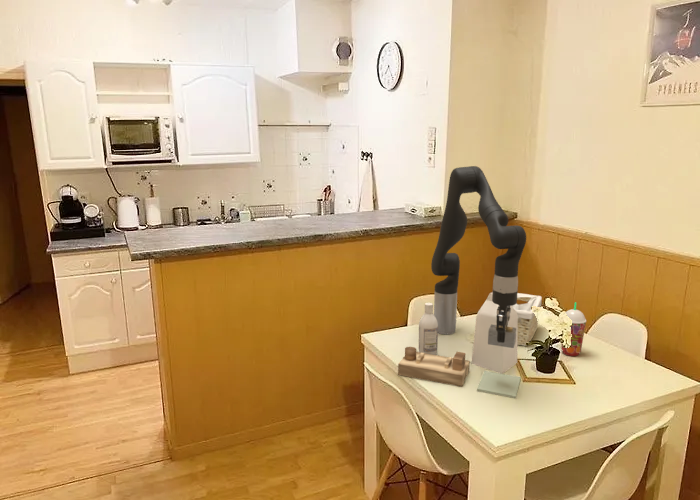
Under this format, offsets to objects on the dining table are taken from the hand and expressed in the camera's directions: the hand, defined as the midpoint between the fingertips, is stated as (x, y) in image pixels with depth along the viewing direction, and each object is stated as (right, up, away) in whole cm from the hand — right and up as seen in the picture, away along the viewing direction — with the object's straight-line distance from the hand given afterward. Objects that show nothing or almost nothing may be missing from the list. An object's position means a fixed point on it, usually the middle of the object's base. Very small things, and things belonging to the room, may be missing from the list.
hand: (502, 338), depth 167 cm
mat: (0, -16, +4) cm, 16 cm away
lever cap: (0, -2, 0) cm, 2 cm away
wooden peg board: (-20, -14, +12) cm, 27 cm away
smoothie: (+34, -10, +28) cm, 45 cm away
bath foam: (-20, -11, +27) cm, 35 cm away
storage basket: (+19, -6, +46) cm, 50 cm away
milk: (+3, -12, +20) cm, 23 cm away
